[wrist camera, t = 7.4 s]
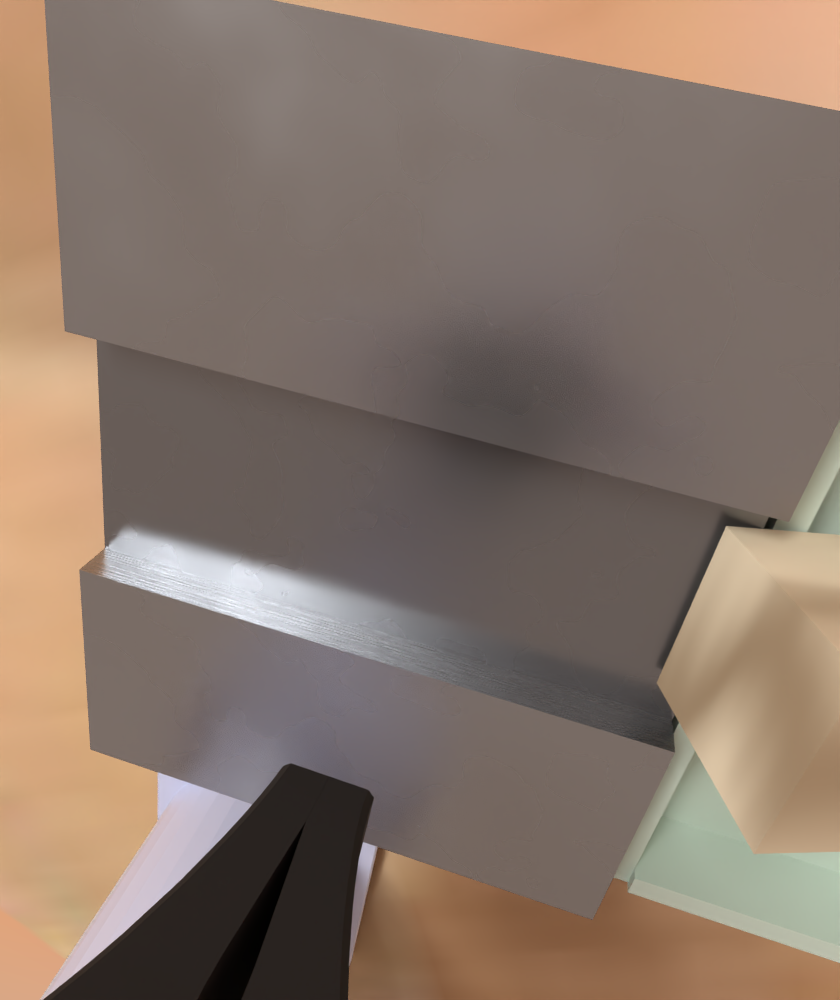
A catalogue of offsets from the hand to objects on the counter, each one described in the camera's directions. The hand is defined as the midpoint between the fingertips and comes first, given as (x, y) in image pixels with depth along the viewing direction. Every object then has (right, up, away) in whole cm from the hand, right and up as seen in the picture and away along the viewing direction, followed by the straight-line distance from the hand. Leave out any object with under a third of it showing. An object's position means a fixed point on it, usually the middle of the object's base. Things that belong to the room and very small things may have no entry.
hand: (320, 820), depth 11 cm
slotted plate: (+2, +6, +8) cm, 9 cm away
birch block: (+9, +2, +4) cm, 10 cm away
